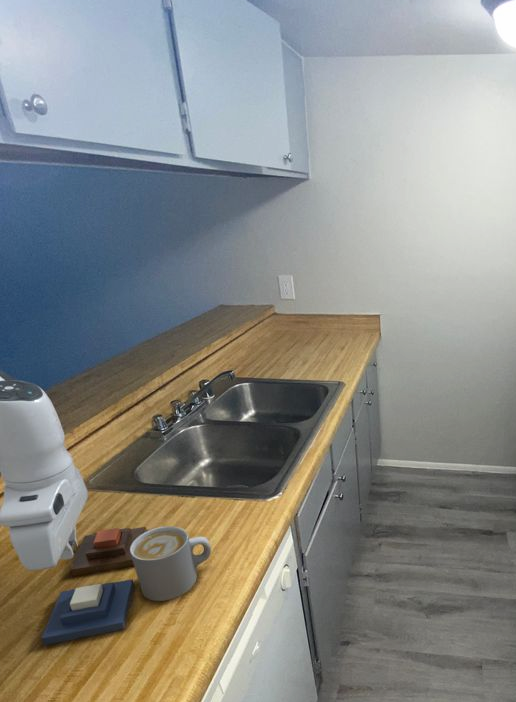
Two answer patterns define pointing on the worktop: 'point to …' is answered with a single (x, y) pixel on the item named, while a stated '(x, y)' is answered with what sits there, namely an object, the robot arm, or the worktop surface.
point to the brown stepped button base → (105, 553)
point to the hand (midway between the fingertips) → (70, 553)
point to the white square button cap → (86, 597)
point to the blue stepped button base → (90, 614)
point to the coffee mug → (167, 561)
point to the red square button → (107, 538)
